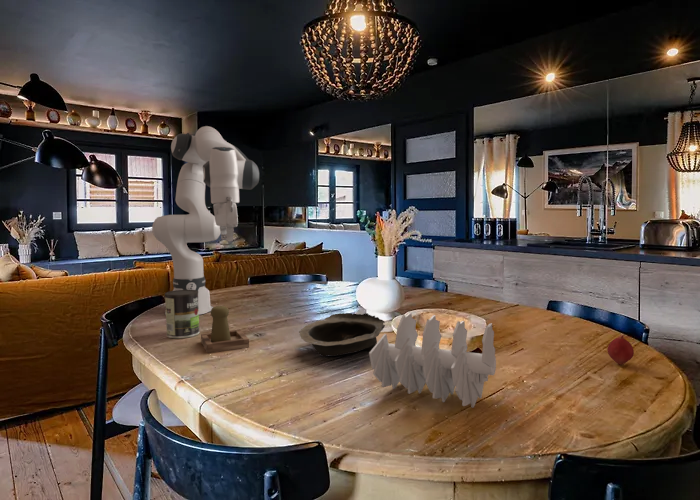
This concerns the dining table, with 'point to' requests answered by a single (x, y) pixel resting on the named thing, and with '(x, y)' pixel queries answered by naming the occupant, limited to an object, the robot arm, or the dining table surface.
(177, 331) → the coffee can
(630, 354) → the onion
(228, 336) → the cork
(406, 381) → the spiral staircase
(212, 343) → the walnut socket block
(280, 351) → the dining table surface
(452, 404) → the dining table surface
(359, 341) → the stone bowl
